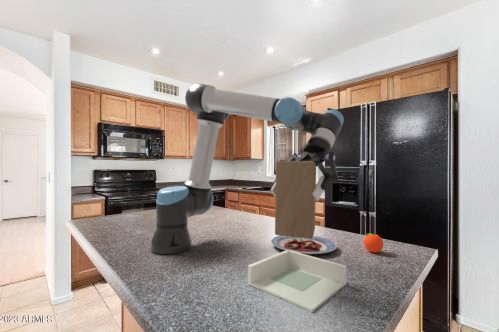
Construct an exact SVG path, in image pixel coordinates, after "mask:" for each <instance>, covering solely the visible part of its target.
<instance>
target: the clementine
mask: <svg viewBox="0 0 499 332" xmlns="http://www.w3.org/2000/svg"><path fill="white" fill-rule="evenodd" d="M364 236H365V237H364ZM363 237H364V238H363ZM361 238H363V245H364V248H365V249H366V250H367V251H368V252H371V253H374V254H375V253H379V252H381V251H382V250H383V248H384V241H383V239H382V237H381V236H380V235H378V234H374V233H368V234H367V233H365V234H363V236H361Z"/></svg>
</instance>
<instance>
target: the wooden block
mask: <svg viewBox="0 0 499 332" xmlns="http://www.w3.org/2000/svg"><path fill="white" fill-rule="evenodd" d="M275 170H276V175H275V179H276V196H274V197H275V205H274V206H275V208H274V217H275V218H274V234H275V235H276V236H290V237H299V238H309V239H312V238H313V236H315V231H316V200H315V198H314V196H313V192H314V189H315V187H316V185H317V166H316V162H313V161H287V160H276V162H275Z"/></svg>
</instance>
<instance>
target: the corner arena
mask: <svg viewBox="0 0 499 332" xmlns="http://www.w3.org/2000/svg"><path fill="white" fill-rule="evenodd" d="M247 285H249V286H252V287H254V288H255V289H258V290H261V291H263V292H265V293H267V294H269V295H271V294H272V295H271V296H274V297H276V296H277V297H276V298H278V297H279V298H278V299H280V298H282V299H281V300H283V301H285V302H287V301H288V302H287V303H289V302H290V304H292V305H294V306H295V307H298V306H299V308H301V309H304V310H305V311H308V312H310V313H313V312H315V311H316V310H317V309H318V308H319V307H321V306H322V305H323V304H324V303H325V302H327V301H328V300H329V299H330V298H331V297H333V296H334V295H335V294H337V292H338V291H340V290H341V289H342V288H343V287H345V286H346V285H347V265H345V264H342V263H337V262H334V261H330V260H327V259H322V258H319V257H316V256H312V255H310V254H302V253H298V252H294V251H291V250H286V251H285V250H282V251H280V252H277V253H276V254H274V255H271V256H268V257H267V258H263V259H261V260H258V261H256V262H254V263H251V264H248V265H247Z"/></svg>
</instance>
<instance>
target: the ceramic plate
mask: <svg viewBox="0 0 499 332" xmlns="http://www.w3.org/2000/svg"><path fill="white" fill-rule="evenodd" d="M270 240H271V241H270V243H271V245H272V246H274V247H276V248H277V249H280V250H282V251H286V250H291V251H294V252H298V253H302V254H305V255H318V254H320V255H321V254H327V253H330V252H333V251H335V250H336V249H337V247H338V246H337V244H336V243H335V242H334V241H332V240H331V239H328V238H324V237H321V236H317V235H313V238H312V239H309V238H299V237H290V236H280V235H276V236H275V237H273V238H272V239H270Z"/></svg>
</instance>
